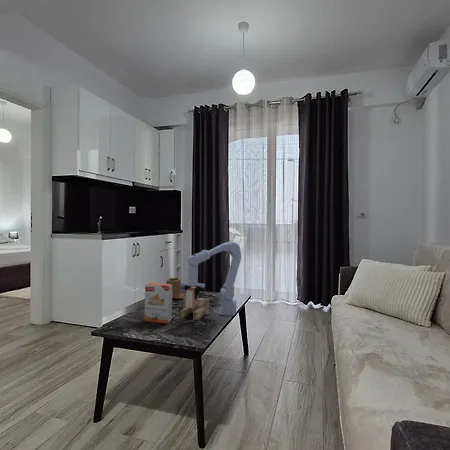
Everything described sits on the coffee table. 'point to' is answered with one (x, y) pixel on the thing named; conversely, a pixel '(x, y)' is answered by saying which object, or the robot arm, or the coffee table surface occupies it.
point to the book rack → (196, 309)
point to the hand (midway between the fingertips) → (192, 298)
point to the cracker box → (158, 303)
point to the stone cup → (176, 288)
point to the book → (191, 298)
